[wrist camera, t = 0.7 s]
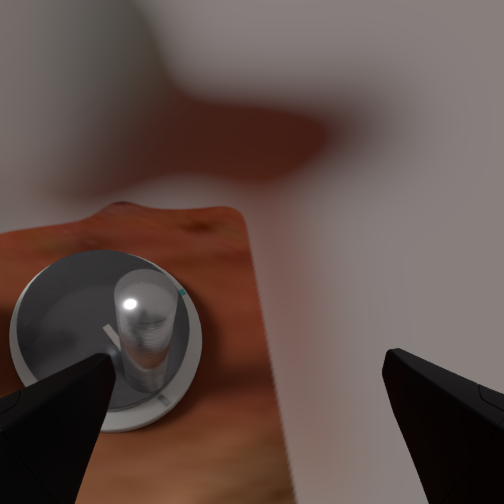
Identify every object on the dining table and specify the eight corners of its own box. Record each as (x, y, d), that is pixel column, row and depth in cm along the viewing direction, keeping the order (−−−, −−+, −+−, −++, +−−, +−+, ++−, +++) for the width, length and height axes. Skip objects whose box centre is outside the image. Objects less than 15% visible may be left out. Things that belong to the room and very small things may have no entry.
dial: (83, 449, 12) (27, 409, 6) (-2, 302, 16) (-43, 202, 10) (223, 341, 20) (266, 248, 14) (122, 238, 24) (128, 140, 18)
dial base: (191, 452, 15) (194, 448, 14) (-7, 393, 13) (-17, 385, 12) (206, 282, 26) (210, 269, 25) (55, 248, 23) (52, 234, 22)
